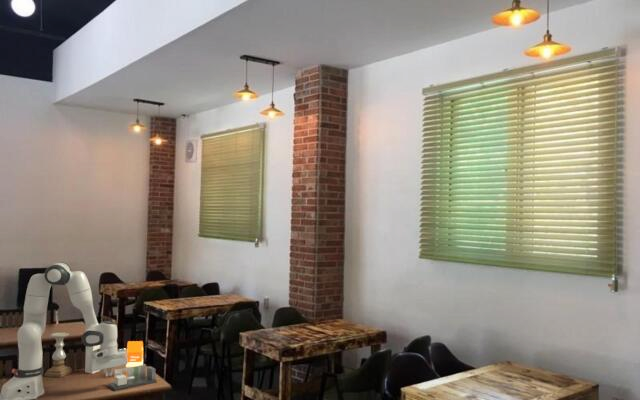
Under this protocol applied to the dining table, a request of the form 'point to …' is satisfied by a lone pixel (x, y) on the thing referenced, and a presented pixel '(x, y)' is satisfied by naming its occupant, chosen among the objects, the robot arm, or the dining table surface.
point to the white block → (122, 379)
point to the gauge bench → (135, 377)
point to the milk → (88, 356)
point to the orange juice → (134, 353)
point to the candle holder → (59, 357)
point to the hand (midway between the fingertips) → (108, 376)
